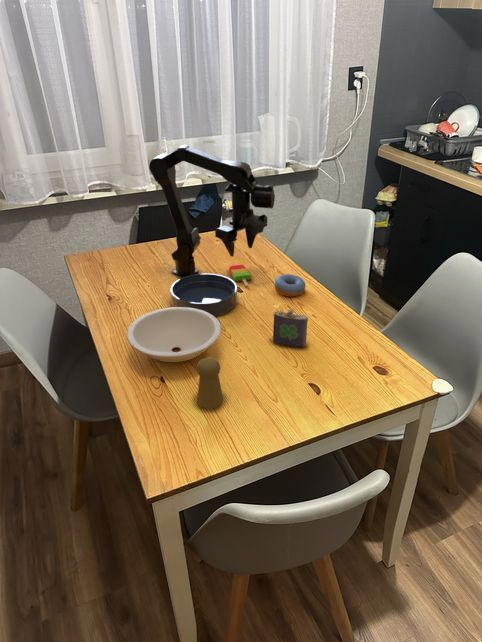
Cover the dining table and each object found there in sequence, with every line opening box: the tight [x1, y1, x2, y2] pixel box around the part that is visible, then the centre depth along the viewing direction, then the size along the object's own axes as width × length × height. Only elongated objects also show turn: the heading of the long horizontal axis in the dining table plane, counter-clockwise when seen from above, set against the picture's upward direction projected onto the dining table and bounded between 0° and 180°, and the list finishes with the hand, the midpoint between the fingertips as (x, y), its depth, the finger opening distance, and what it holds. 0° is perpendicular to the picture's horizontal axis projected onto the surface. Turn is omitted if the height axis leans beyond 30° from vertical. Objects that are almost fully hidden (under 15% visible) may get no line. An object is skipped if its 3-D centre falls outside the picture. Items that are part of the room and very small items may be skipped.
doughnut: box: [274, 273, 306, 297], centre depth 160 cm, size 10×10×5 cm
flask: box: [272, 308, 309, 349], centre depth 132 cm, size 9×3×11 cm, turn 74°
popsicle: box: [228, 264, 252, 287], centre depth 168 cm, size 6×15×2 cm, turn 17°
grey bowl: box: [126, 306, 222, 363], centre depth 130 cm, size 24×24×7 cm
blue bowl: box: [169, 273, 238, 318], centre depth 153 cm, size 20×20×5 cm
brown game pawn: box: [196, 357, 224, 410], centre depth 112 cm, size 6×6×11 cm
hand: (241, 252), depth 163 cm, fingers open, 9 cm apart
